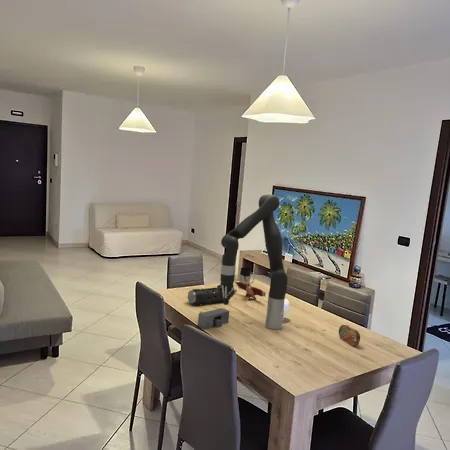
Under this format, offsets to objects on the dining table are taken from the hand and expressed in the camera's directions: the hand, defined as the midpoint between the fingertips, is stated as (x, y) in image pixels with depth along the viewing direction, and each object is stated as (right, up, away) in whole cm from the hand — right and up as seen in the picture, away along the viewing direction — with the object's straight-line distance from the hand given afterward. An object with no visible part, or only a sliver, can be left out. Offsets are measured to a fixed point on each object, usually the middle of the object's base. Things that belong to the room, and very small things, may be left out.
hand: (225, 304), depth 221 cm
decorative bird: (+15, -9, +58) cm, 61 cm away
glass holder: (+16, -5, +86) cm, 87 cm away
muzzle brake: (-11, -8, +44) cm, 46 cm away
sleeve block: (-7, -13, +7) cm, 16 cm away
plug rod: (-9, -12, +10) cm, 18 cm away
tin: (+66, -20, -2) cm, 69 cm away
